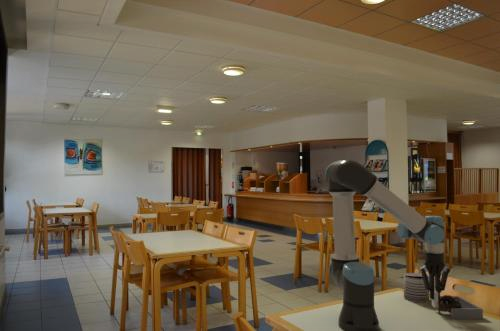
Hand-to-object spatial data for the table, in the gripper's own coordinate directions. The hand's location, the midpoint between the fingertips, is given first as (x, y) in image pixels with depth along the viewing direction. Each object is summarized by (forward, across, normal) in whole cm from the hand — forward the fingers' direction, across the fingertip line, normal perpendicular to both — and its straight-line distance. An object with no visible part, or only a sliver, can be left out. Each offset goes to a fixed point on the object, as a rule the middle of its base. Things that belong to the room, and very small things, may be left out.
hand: (434, 306), depth 170 cm
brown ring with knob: (+2, -6, +1) cm, 6 cm away
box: (+2, -9, 0) cm, 9 cm away
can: (+2, 0, -18) cm, 18 cm away
